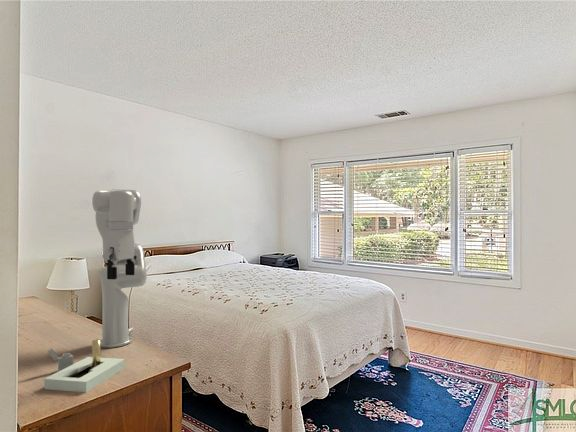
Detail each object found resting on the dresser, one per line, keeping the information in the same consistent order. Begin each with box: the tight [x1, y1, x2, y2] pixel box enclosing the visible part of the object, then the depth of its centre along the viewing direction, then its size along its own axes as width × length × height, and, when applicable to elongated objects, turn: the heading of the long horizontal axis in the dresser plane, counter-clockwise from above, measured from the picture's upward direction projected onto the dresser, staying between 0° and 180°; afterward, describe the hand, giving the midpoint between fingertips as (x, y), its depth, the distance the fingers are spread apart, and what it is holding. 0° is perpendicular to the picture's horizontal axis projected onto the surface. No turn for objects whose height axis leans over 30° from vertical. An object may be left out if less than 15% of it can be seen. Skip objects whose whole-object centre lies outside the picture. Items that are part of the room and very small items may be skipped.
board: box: [43, 356, 126, 393], centre depth 115 cm, size 18×14×3 cm
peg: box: [88, 339, 102, 373], centre depth 119 cm, size 4×4×10 cm
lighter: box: [47, 347, 74, 372], centre depth 121 cm, size 7×2×8 cm, turn 127°
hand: (121, 277), depth 125 cm, fingers open, 9 cm apart
